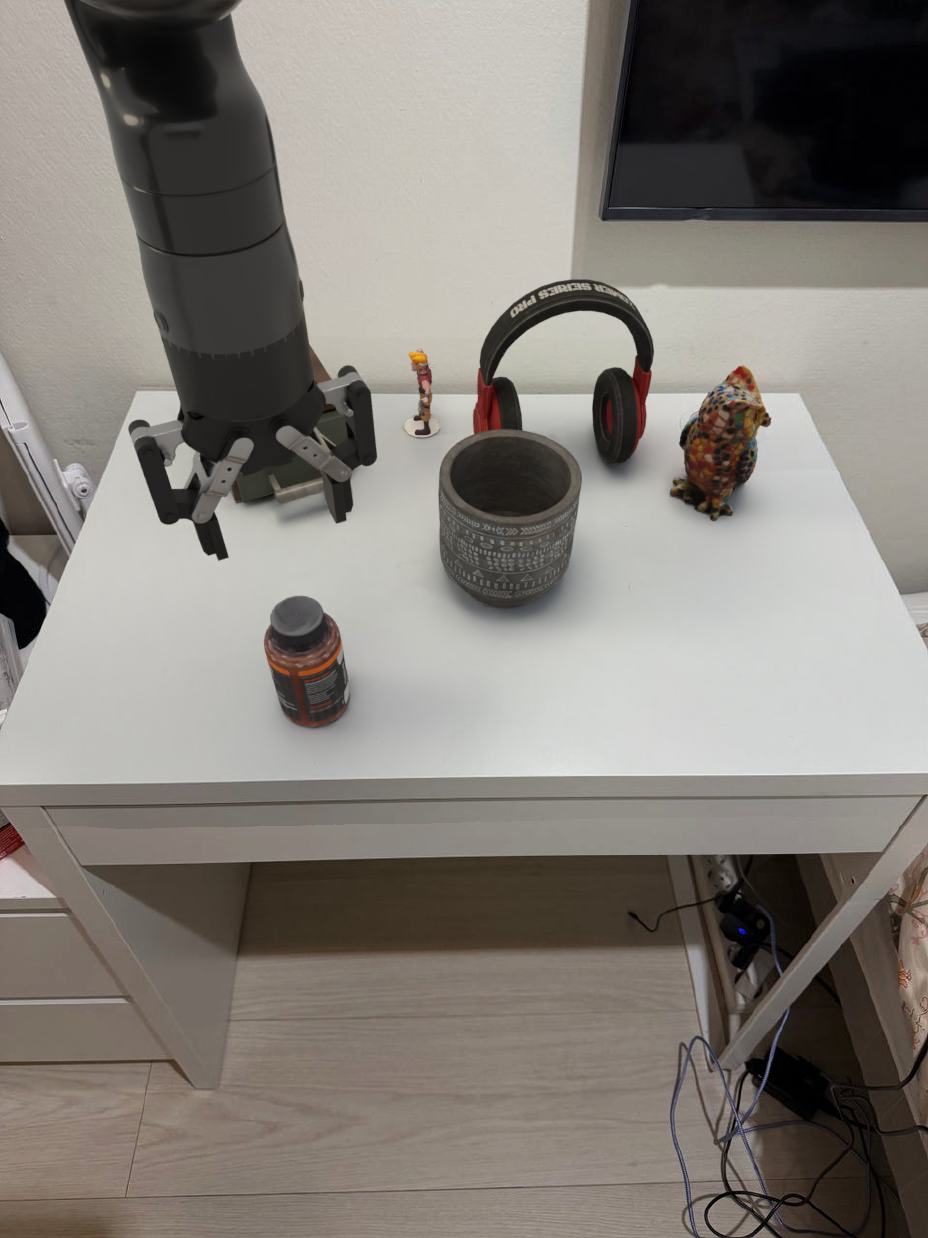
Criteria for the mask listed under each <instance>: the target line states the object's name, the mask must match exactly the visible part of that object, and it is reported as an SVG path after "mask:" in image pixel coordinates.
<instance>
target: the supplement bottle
mask: <svg viewBox="0 0 928 1238" xmlns="http://www.w3.org/2000/svg"><path fill="white" fill-rule="evenodd" d="M269 622H270V624H269V626H268V627H267V629H266V631H265V634H264V638H263V647H264V648H263V649H264V654H265V656H266V660H267V664H268V667H269V671H270V675H271V678H272V681H273V686H274V689H275V692H276V695H277V699H278V703H279V706H280V708H281V710H282V712H283V714H284V715H285V717H287V718H288V720H290V721H291V722H293V723H295V724H297V725H299V726H303V727H313V728H314V727H319V726H324V725H327V724H329V723H331V722H333V721H335V720H336V719H338V718H340V716H341V715H342V714H343V713H344V711H345V710H346V709H347V707H348V705H349V702H350V698H351V697H350V696H351V691H350V681H349V677H348V670H347V665H346V659H345V653H344V647H343V641H342V636H341V632H340V629H339V625H338V624H337V622H336V621H335V620H334V618H333V617H331V616H330V615H329V614H327V613H326V612H325V611H324V609H323V606H322V605H321V603H320V602H319V601H318V600H316V599H315V598H313V597H311V596H307V595H293V596H289V597H286V598H284V599H282V600H281V601H279V602H278V603H277V604H276V605H275V606H274V607H273V609H272V610H271V613H270V618H269Z"/></svg>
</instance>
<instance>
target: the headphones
mask: <svg viewBox="0 0 928 1238" xmlns="http://www.w3.org/2000/svg"><path fill="white" fill-rule="evenodd" d="M575 312H594V313H600V314H605V315H608V316H610V317H614V318H616V319H617V320H619V321H620V322H622V323H623V324H624V325H625V326H626V328H627V329H628V331H629V333H630V334H631V336H632V339H633V343H634V346H635V351H636V355H635V357H634V367H633V372H632V376H631V375H630V374H629V373H628V372H627V371H626V370H625V369H624V368H622V367H617V366H613V367H609V368H606V369H603V371H601V373H600V374H599V375H598V376H597V378H596V381H595V383H594V384H595V386H594V388H593V394H592V403H591V415H592V430H593V434H594V438H595V439H594V440H595V444H596V447H597V450H598V452H599V454H600V456H601V458H602V459H603V460H604V461H606V462H607V463H608V464H614V465H620V464H623V463H625V462H627V461H628V460H630V458H631V456H632V455H633V454H634V453H635V452H636V450H637V449H638V445H639V442H640V440H641V438H643V435H644V433H645V431H646V426H647V425H646V424H647V417H648V415H647V405H646V402H647V398H648V396H649V391H650V386H651V382H652V375H653V371H652V369H651V368H652V366H653V364H654V363H653V362H654V356H655V349H654V348H655V347H654V340H653V337H652V334H651V332H650V329H649V327H648V325H647V323H646V321H645V319H644V317H643V316H642V313H640V311H639V309H638V306H637V305H635V303H634V302H633V301H632V300H631V299H630V298H629V297H628V295H626V294H625V293H623V292H622V291H621V290H619V289H617V288H616V287H614V286H612V285H610V284H608V283H605V282H603V281H599V280H593V279H588V278H587V279H581V278H580V279H579V278H578V279H577V278H576V279H575V278H573V279H572V278H571V279H565V280H559V281H558V280H557V281H554V282H550V283H548V284H544V285H541V286H539V287H536V288H535V289H534V290H531V291H530V292H527V293H526V294H524V295H523V296H521V297H519V299H517V300H516V301H514V302H513V303H512V304H511V305H510V306H509V307H508V308H507V309H506V310H505V311H504V312H503V313H501V315H499V317H498V319H496V321H495V322H494V324H493V325H492V326H491V328H490V330H489V331H488V333H487V335H486V337H485V338H484V341H483V344H482V346H481V349H480V355H479V367H478V370H477V381H476V382H477V385H476V393H477V401H476V402H475V405H474V408H473V414H472V427H473V434H476V433H479V432H483V431H489V430H499V429H512V430H522V431H524V430H523V428H524V427H523V414H522V409H521V404H520V399H519V395H518V393H517V389H516V386H515V384H514V382H513V381H512V380H511V379H510V378H508V377H507V376H496V377H494V376H495V374H496V373H497V370H498V367H499V365H500V363H501V362H502V361H501V360H502V359H503V358H504V356H505V354H506V352H507V351H508V349H510V347H511V346H512V345H513V344H514V343H515V342H516V341H517V340H518V339H519V338H520V337H522V335H524V334H525V333H527V331H529V330H531V329H533V328H534V327H536V326H537V325H539V324H541V323H543V322H545V321H547V320H549V319H551V318H555V317H557V316H561V315H564V314H568V313H569V314H570V313H575Z"/></svg>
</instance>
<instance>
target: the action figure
mask: <svg viewBox="0 0 928 1238" xmlns="http://www.w3.org/2000/svg"><path fill="white" fill-rule="evenodd" d="M408 357H409V358H410V360H411V363H410V365H411V371H413V372H416V380H417V384H418V386H419V387H418V394H419V401H418V408H417V411H418V414H417V415H414V416H411V417H410V418H408V419H406V421H405V422H404V424H403V425H404V427H403V428H404V430H405V432H406V433H407V434H408V435H410V436H412V437H416V438H428V437H432V436H434V435H435V434H436V433H437V432H438V431H439V430H440V422H439V421H438V420H437V419H436V418H434V417H432V413H431V403H432V402H433V393H432V391H431V386H432V384H433V375H432V374H433V373H432V369H433V368H434V366H435V365H437V363H436V362H429V360H428V355H427V354H426V353H425V352H424V350H423V348H422V347H417V349H416V350H415V352H413V351H412V352H408ZM430 368H431V369H430Z"/></svg>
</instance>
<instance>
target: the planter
mask: <svg viewBox="0 0 928 1238" xmlns="http://www.w3.org/2000/svg"><path fill="white" fill-rule="evenodd" d="M438 473H439V475H438V490H437V491H438V496H437V497H438V517H439V518H438V519H439V530H438V531H439V534H438V535H439V536H438V539H439V540H438V543H439V545H438V546H439V556H440V561H441V563H442V566H443V567H444V569H445V571H446V573H447V574H448V575H449V577H450V578H451V579H452V580H453V581H454V583H455V584H456V585H457V586H458V587H460V589H462V590H463V591H464V592H465V593H466V594H468V595H469V596H470V597H471V598H472V599H474V600H475V601H477V602H479V603H481V604H482V605H485V606H489V607H493V608H498V609H500V608H501V609H510V608H511V609H512V608H518V607H520V606H524V605H526V604H528V603H530V602H532V601H534V600H536V599H538V598H539V597H541V596H542V595H543V594H545V593H546V592H547V591H549V590H551V589H552V588H553V587H554V586H555V585H556V584H557V583H558V582H559V581H560V580H561V579H562V578H563V577H564V575H565V573H566V572H567V569H568V568H569V565H570V561H571V556H572V551H573V544H574V536H575V531H576V525H577V520H578V513H579V505H580V498H581V497H580V496H581V491H582V484H583V477H582V470H581V467H580V464H579V463H578V461H577V459H576V458H575V457H574V455H573V454H572V453H571V452H570V451H569V450H568V449H567V448H566V447H564V446H563V445H562V444H560V443H559V442H557V441H555V440H554V439H552V438H550V437H548V436H545V435H542V434H540V433H537V432H532V431H528V430H523V431H522V430H512V429H499V430H489V431H483V432H479V433H476V434H474V433H473V434H471V435H468V436H466V437H464V438H462V439H461V440H459V441H458V442H456V443H455V444H454V445H453V446H452V447H451V448H450V449H449V450H448V451H447V452H446V454H445V456H444V457H443V459H442V461H441V463H440V466H439V472H438Z"/></svg>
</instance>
